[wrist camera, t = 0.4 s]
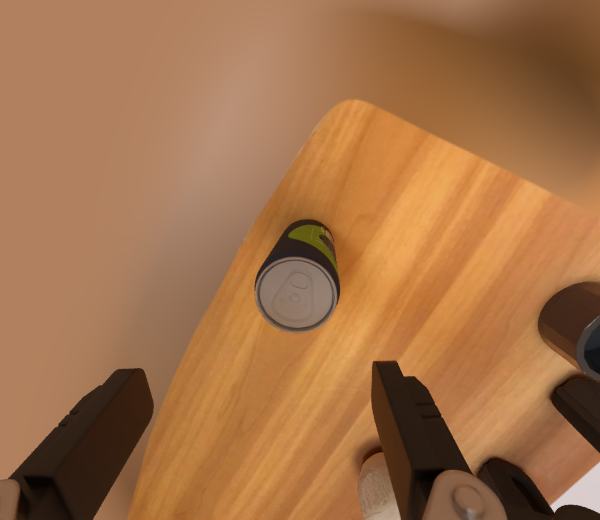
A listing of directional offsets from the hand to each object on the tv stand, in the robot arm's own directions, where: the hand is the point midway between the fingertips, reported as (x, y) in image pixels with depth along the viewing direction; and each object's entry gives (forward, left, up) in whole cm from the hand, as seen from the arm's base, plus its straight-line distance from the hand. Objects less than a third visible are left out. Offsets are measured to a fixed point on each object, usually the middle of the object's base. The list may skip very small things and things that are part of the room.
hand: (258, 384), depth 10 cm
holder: (+5, +34, -25) cm, 42 cm away
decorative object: (+32, +17, -25) cm, 44 cm away
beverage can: (+1, +1, -25) cm, 25 cm away
